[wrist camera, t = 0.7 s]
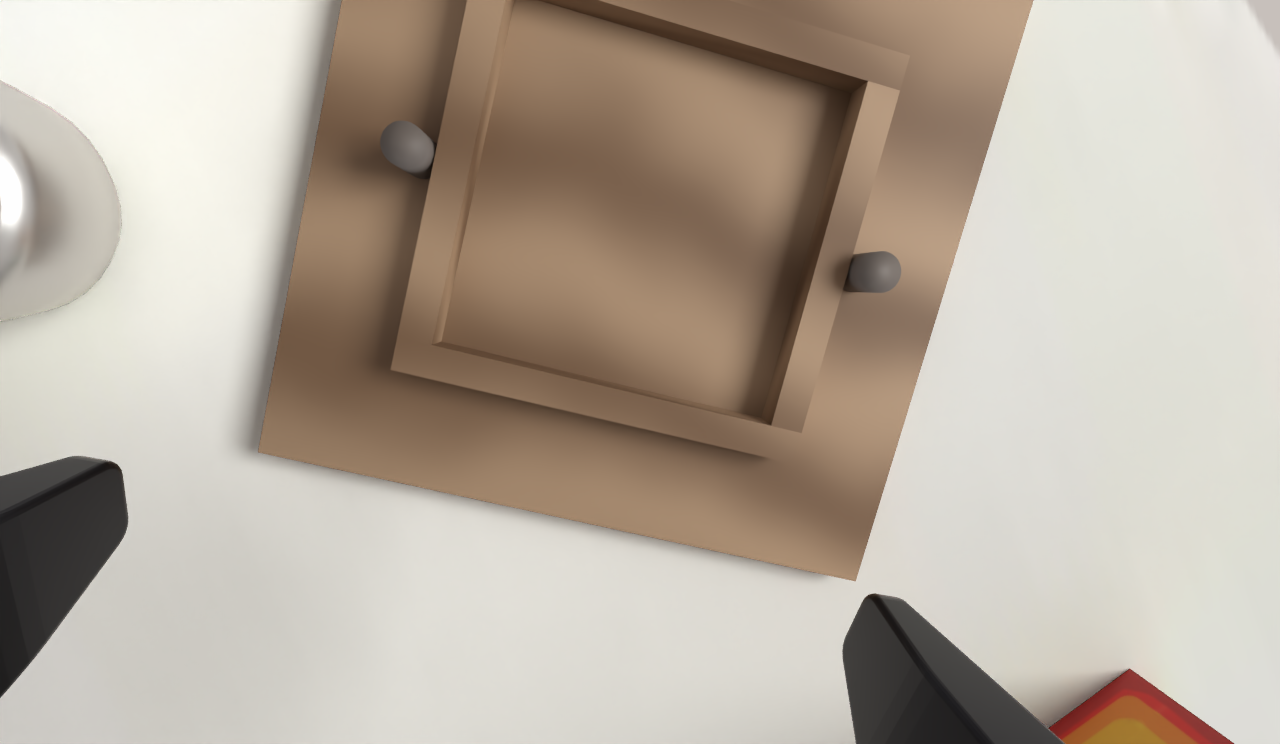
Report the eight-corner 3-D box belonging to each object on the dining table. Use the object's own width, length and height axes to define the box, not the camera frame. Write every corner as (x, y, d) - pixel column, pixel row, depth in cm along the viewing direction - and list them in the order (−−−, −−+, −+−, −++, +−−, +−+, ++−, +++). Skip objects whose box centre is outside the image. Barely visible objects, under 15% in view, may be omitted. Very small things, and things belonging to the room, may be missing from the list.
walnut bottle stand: (844, 568, 23) (881, 610, 20) (273, 444, 21) (221, 470, 18) (1018, -6, 21) (1089, -55, 18) (396, -207, 19) (358, -299, 16)
